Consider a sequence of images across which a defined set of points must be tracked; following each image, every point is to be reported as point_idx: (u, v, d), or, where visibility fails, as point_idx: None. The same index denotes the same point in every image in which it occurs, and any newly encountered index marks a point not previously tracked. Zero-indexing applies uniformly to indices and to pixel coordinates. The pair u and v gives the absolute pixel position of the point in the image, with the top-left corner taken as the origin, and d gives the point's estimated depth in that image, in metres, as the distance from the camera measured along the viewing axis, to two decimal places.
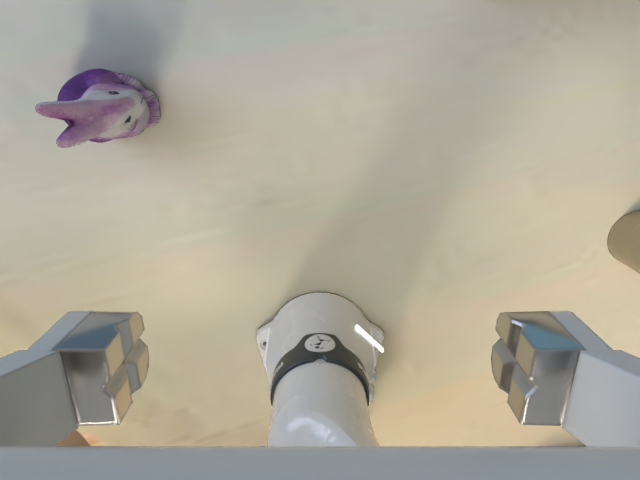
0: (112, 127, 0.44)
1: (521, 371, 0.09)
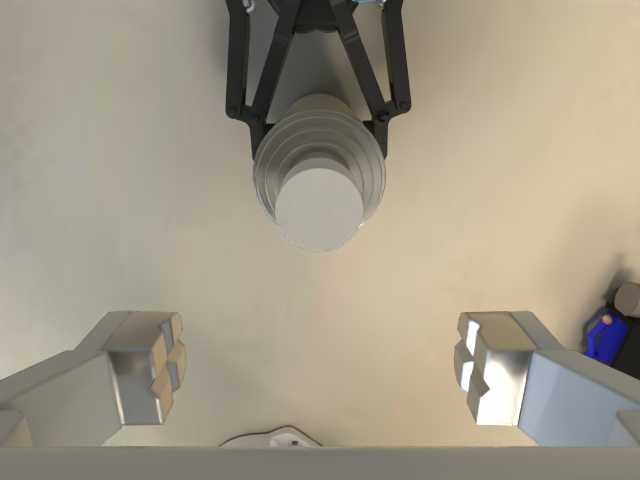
0: None
1: (479, 371, 0.09)
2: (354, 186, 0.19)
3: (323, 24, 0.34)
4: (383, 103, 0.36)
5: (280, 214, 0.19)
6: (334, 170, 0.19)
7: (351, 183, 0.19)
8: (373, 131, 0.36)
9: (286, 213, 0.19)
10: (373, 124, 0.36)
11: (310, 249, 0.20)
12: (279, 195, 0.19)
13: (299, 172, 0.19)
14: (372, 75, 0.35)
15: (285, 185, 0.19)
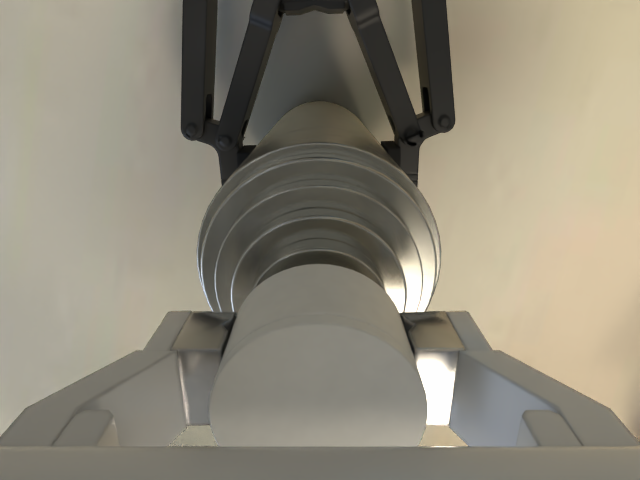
0: None
1: None
2: (408, 364, 0.07)
3: (325, 0, 0.22)
4: (414, 118, 0.24)
5: (222, 424, 0.08)
6: (357, 326, 0.07)
7: (401, 358, 0.07)
8: (398, 158, 0.25)
9: (236, 422, 0.08)
10: (398, 148, 0.25)
11: None
12: (216, 385, 0.07)
13: (266, 331, 0.07)
14: (398, 77, 0.23)
15: (231, 362, 0.07)
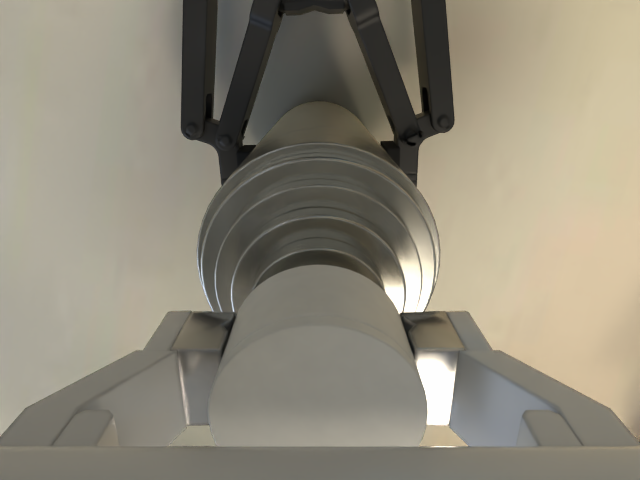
0: None
1: None
2: (284, 330, 0.07)
3: (324, 0, 0.22)
4: (413, 118, 0.24)
5: None
6: (230, 357, 0.07)
7: (273, 335, 0.07)
8: (397, 158, 0.25)
9: None
10: (398, 148, 0.25)
11: None
12: None
13: (212, 425, 0.08)
14: (398, 77, 0.23)
15: None
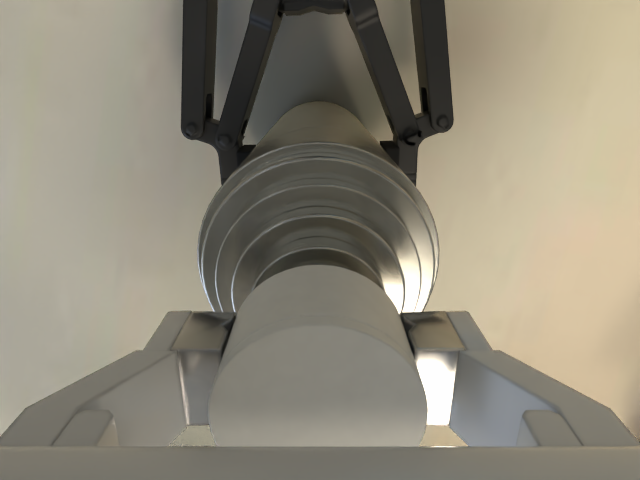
0: None
1: None
2: (210, 414, 0.08)
3: (324, 0, 0.22)
4: (412, 118, 0.24)
5: None
6: None
7: (212, 424, 0.08)
8: (397, 158, 0.25)
9: None
10: (397, 148, 0.25)
11: (404, 366, 0.07)
12: None
13: None
14: (397, 77, 0.24)
15: None
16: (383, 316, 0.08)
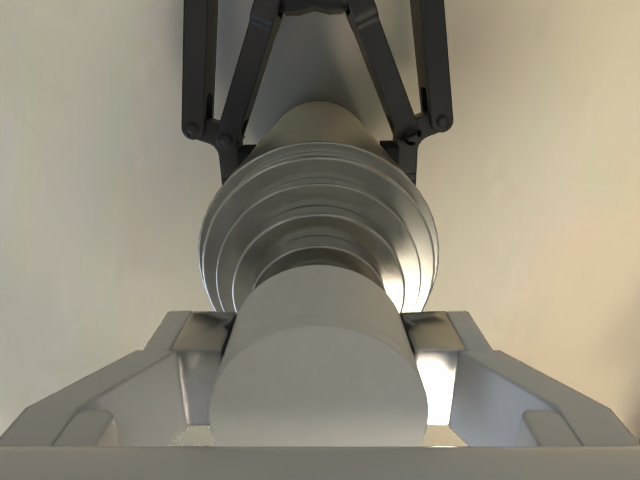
0: None
1: None
2: None
3: (324, 0, 0.22)
4: (412, 118, 0.24)
5: (402, 373, 0.07)
6: None
7: None
8: (397, 157, 0.25)
9: (389, 382, 0.07)
10: (397, 148, 0.25)
11: (283, 335, 0.07)
12: (425, 409, 0.08)
13: None
14: (397, 77, 0.24)
15: (422, 430, 0.08)
16: (264, 309, 0.08)
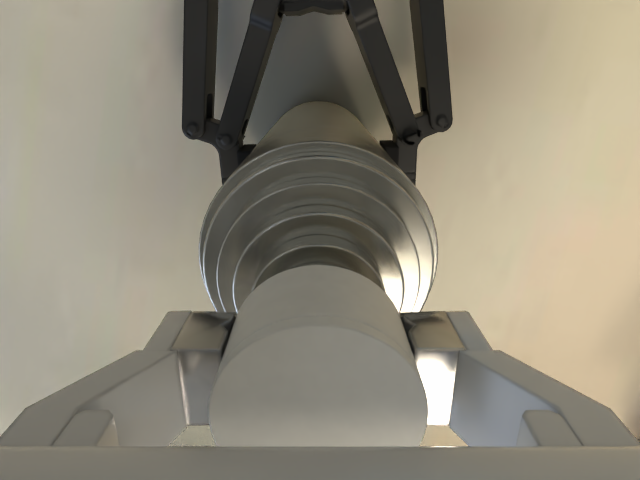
0: None
1: None
2: None
3: (324, 1, 0.23)
4: (412, 117, 0.24)
5: (290, 339, 0.07)
6: (422, 428, 0.08)
7: None
8: (396, 157, 0.25)
9: (296, 353, 0.07)
10: (396, 147, 0.25)
11: (213, 418, 0.08)
12: (343, 330, 0.07)
13: (408, 361, 0.07)
14: (396, 77, 0.24)
15: (371, 338, 0.07)
16: None
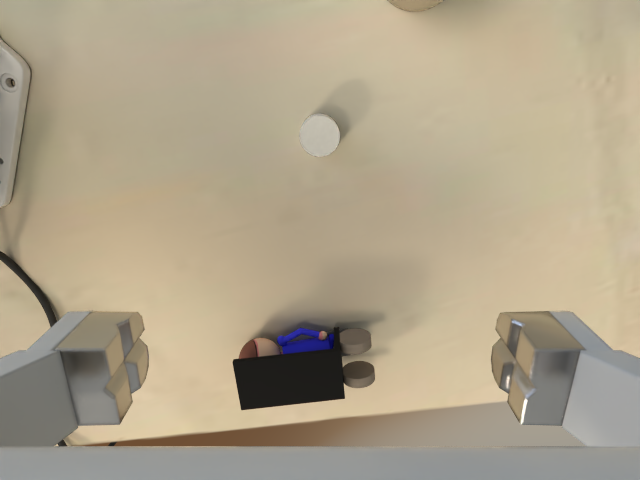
0: None
1: (521, 371, 0.09)
2: (337, 127, 0.42)
3: None
4: None
5: (301, 135, 0.42)
6: (329, 118, 0.41)
7: (336, 125, 0.41)
8: None
9: (304, 135, 0.42)
10: None
11: (312, 154, 0.42)
12: (302, 125, 0.41)
13: (313, 116, 0.41)
14: None
15: (306, 121, 0.41)
16: None
